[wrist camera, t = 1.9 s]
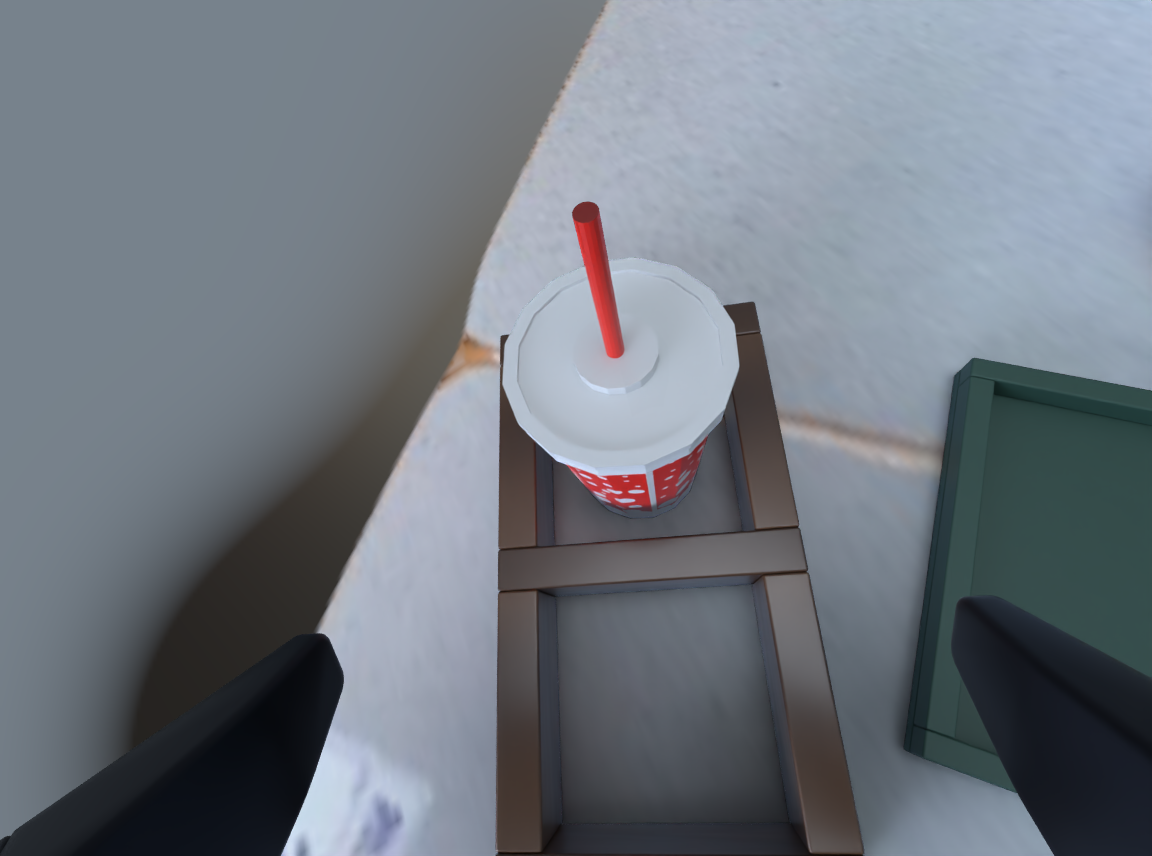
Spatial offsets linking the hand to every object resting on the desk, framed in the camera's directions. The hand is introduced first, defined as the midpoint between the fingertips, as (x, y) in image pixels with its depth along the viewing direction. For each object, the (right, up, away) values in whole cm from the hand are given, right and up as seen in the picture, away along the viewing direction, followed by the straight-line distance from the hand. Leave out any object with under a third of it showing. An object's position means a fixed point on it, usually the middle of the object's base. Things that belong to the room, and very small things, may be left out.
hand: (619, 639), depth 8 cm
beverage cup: (+2, +2, +15) cm, 15 cm away
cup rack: (+2, -2, +13) cm, 13 cm away
